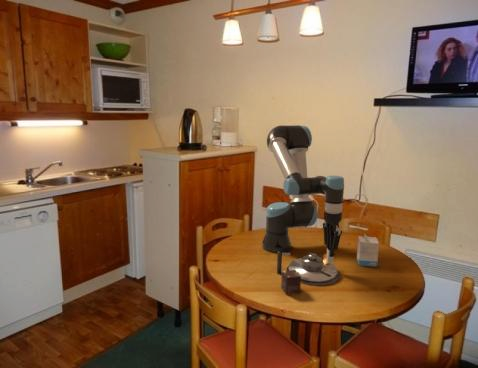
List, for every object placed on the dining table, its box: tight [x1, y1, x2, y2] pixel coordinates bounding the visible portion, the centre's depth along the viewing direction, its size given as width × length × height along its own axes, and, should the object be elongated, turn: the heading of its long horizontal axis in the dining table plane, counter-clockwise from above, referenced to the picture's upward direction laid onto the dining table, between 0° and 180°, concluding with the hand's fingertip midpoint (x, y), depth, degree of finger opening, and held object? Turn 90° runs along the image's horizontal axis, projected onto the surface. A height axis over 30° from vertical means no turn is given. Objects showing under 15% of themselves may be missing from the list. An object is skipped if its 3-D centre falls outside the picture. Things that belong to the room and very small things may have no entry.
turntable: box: [288, 253, 338, 283], centre depth 153 cm, size 21×21×6 cm
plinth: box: [285, 265, 340, 287], centre depth 154 cm, size 23×23×1 cm
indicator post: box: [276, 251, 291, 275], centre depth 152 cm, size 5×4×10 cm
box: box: [280, 270, 302, 296], centre depth 138 cm, size 6×6×7 cm
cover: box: [301, 252, 324, 272], centre depth 152 cm, size 9×9×6 cm
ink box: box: [356, 233, 380, 268], centre depth 164 cm, size 9×8×13 cm
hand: (329, 262), depth 155 cm, fingers closed
